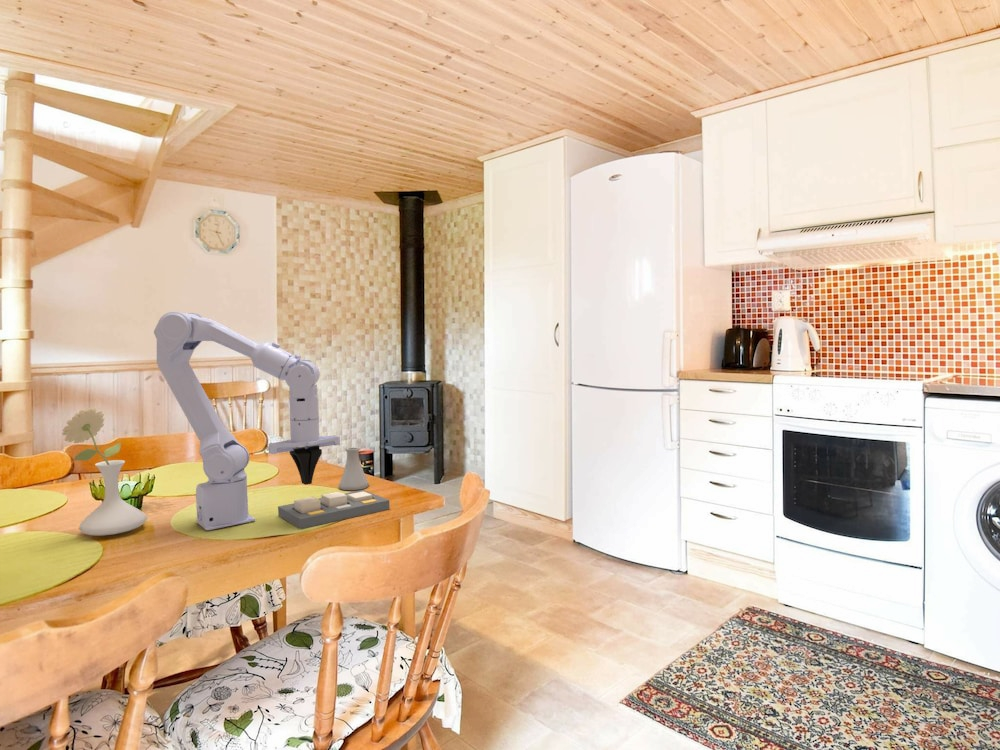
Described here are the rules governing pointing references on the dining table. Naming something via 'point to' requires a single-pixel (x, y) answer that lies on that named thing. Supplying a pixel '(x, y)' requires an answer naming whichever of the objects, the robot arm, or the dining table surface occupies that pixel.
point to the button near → (307, 505)
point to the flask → (353, 472)
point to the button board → (333, 511)
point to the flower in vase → (113, 509)
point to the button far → (359, 496)
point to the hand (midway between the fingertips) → (306, 483)
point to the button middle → (334, 499)
